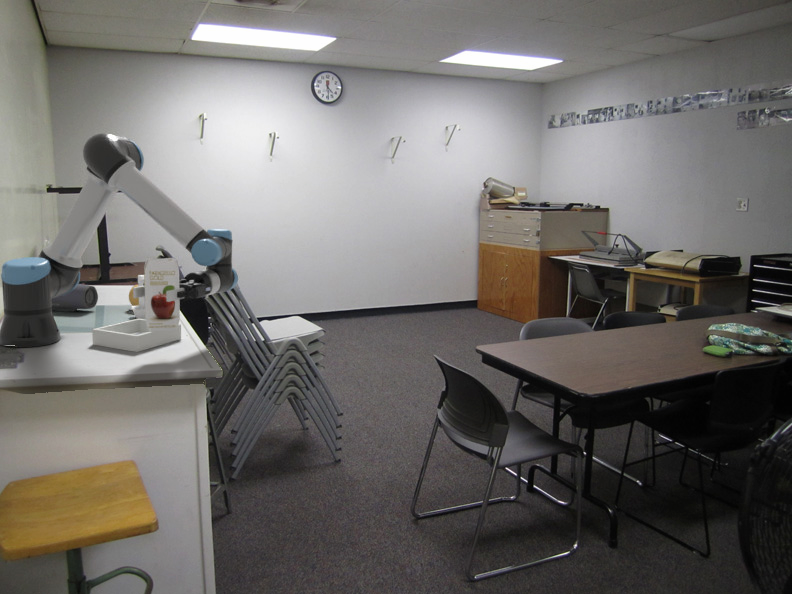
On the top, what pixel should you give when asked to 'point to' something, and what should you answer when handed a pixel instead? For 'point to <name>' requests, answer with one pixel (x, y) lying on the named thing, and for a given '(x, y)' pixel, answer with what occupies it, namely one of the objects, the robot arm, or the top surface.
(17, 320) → the robot arm
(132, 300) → the stress ball
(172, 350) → the top surface
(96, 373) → the top surface
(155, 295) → the juice carton
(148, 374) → the top surface
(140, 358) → the top surface
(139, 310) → the figurine
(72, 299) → the bluetooth speaker
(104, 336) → the walled box
